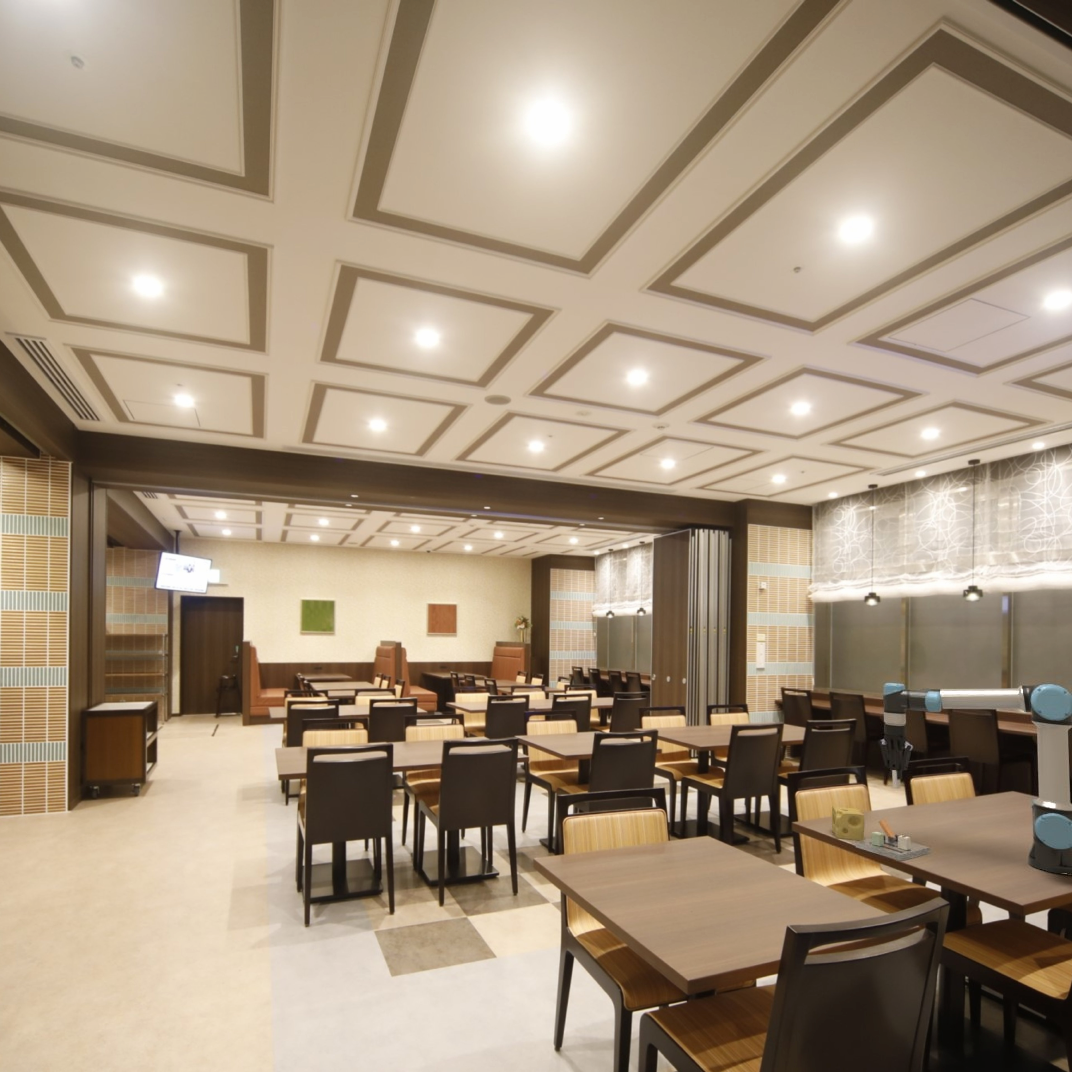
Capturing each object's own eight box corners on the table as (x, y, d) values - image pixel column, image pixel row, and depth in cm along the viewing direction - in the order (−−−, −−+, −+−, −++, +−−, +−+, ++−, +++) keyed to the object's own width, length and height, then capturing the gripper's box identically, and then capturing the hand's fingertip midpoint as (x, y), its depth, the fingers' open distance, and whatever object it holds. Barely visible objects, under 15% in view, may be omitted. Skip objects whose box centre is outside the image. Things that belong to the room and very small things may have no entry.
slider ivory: (910, 849, 253) (910, 836, 253) (906, 850, 251) (905, 837, 252) (902, 846, 255) (902, 834, 256) (898, 847, 254) (897, 835, 254)
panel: (929, 853, 256) (929, 842, 257) (900, 861, 245) (900, 849, 246) (884, 840, 270) (884, 829, 271) (855, 847, 259) (855, 836, 260)
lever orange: (897, 839, 263) (885, 819, 267) (893, 840, 261) (880, 820, 266) (894, 840, 264) (882, 821, 268) (890, 842, 262) (878, 821, 267)
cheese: (835, 838, 269) (835, 811, 271) (831, 830, 280) (830, 805, 281) (864, 841, 267) (864, 814, 268) (858, 834, 277) (858, 808, 279)
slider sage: (883, 845, 256) (883, 833, 256) (879, 846, 254) (879, 834, 255) (876, 842, 258) (875, 830, 259) (871, 843, 257) (871, 831, 257)
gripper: (917, 726, 264) (919, 790, 260) (883, 721, 274) (885, 783, 271) (906, 727, 259) (908, 792, 256) (873, 722, 270) (874, 785, 267)
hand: (896, 787), depth 264 cm, fingers closed
